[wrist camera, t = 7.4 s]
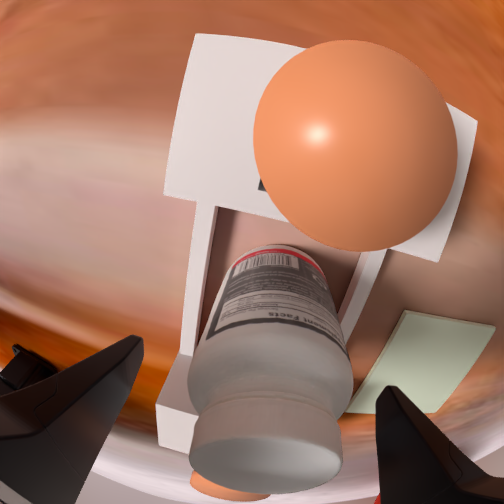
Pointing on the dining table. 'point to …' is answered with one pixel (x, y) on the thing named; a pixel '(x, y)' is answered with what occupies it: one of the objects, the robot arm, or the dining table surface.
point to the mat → (423, 360)
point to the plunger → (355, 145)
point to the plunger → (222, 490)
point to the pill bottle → (270, 377)
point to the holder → (251, 192)
